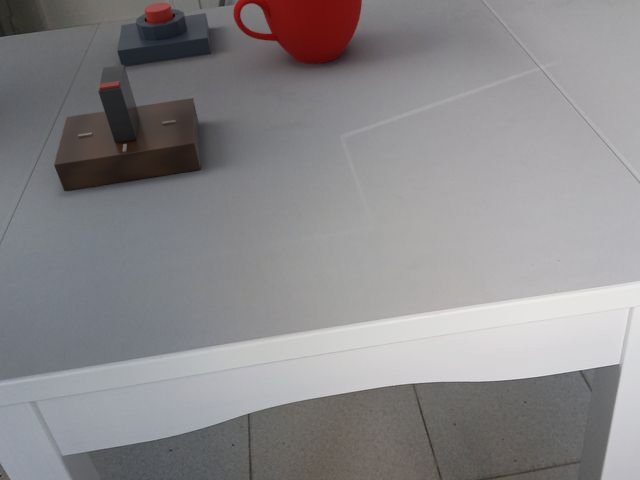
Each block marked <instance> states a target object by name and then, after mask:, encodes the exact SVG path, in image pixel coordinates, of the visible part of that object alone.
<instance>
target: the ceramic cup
mask: <svg viewBox="0 0 640 480" xmlns="http://www.w3.org/2000/svg"><path fill="white" fill-rule="evenodd" d="M249 4H252V5H256V6H258V7H259V8H260V9H261V11H262V12H263V15H264V19H265V21H266V24H267V26H268V29H269V31H270V33H266V32H265V33H262V32H257V31H253V30H251V29H249V28H248V27H247V26H246V25H245V24H244V22H243V21H242V20H243V19H242V17H241V16H242V15H241V13H242V10H243V8H244V7H245V6H247V5H249ZM362 5H363V0H237V1H236V3H235V4H234V7H233V13H232V14H233V19H234V23H235V25H236V26H237V27H238V28H239V30H240V31H241V32H242V33H243V34H245V35H246V36H248V37H250V38H253V39H255V40H260V41H270V42H277V43H278V45H279V46H280V47H281V48H282V49H283V50H284V51H285V52H287V54H288V55H290V56H291V57H292V59H293V60H294V61H297V62H298V63H303V64H322V63H327V62H330V61H333V60H335V59H337V58H339V57H340V56H341V55H342V54H343V52H344V50H345V49H346V47H348V45H349V44H350V42H351V40H352V39H353V37H354V35H355V34H356V33H355V32H356V30H357V28H358V25H359V22H360V17H361V12H362Z"/></svg>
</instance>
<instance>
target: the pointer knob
mask: <svg viewBox="0 0 640 480" xmlns="http://www.w3.org/2000/svg"><path fill="white" fill-rule="evenodd" d="M130 83H131V82H130V80H129V76H128V73H127V70H126V66H124V65H121V64H119V65H113V66H107V67H102V71H101V77H100V81H99V86H98V90H97V91H98V95H99V98H100V101H101V104H102V107H103V111H105V114H106V117H107V120H108V123H109V126H110V129H111V132H112V135H113V139H114V142H115V143H120V142H127V141H133V140H136V139H137V128H138V117H139V114H138V110H137V104H136V100H135V97H134V94H133V90H132V87H131V84H130Z"/></svg>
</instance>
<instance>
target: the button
mask: <svg viewBox="0 0 640 480" xmlns="http://www.w3.org/2000/svg"><path fill="white" fill-rule="evenodd" d="M172 9H173V8H172V5H171V4H170V3H168V2H155V3H152V4H148V5H147V6H145V7H144V8H143V12H144V14H145V16H146V19H147V23H161V22H166V21H169V20H171V19H173V18H174V17H173V13H172Z"/></svg>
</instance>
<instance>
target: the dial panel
mask: <svg viewBox="0 0 640 480" xmlns="http://www.w3.org/2000/svg"><path fill="white" fill-rule="evenodd" d="M195 104H196V103H195V100H194V98H193V97H189V98H183V99H178V100H177V99H176V100H171V101H164V102H157V103H151V104H143V105H138V106H137V105H136V107H137V110H138V114H139V117H138V128H137V139H136V140H133V141H127V142H120V143H115V142H114V139H113V135H112V132H111V129H110V126H109V123H108V120H107V117H106V114H105V111H104V110H103V111H98V112H97V111H96V112H90V113H86V114H85V113H84V114H77V115H71V116H70V115H69V116H66V118H65V123H64V126H63V129H62V133H61V137H60V141H59V145H58V148H57V152H56V155H55V159H54V163H53V166H54V168H55V171H56V173H57V177H58V178H59V181H60V184H61V186H62V189H63V191H64V192H66V191H72V190H79V189H85V188H91V187H98V186H99V187H100V186H105V185H112V184H117V183H124V182H131V181H136V180H137V181H138V180H143V179H149V178H155V177H161V176H167V175H175V174H180V173H188V172H195V171H200V170H201V169H202V167H201V144H200V143H201V142H200V121H199V117H198V113H197V110H196V105H195Z"/></svg>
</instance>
